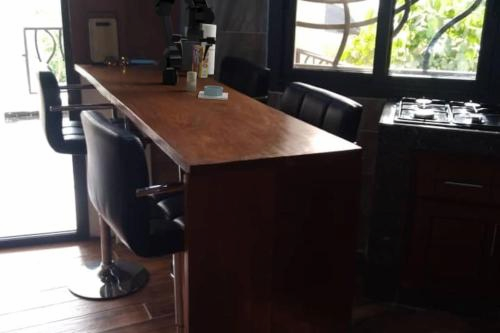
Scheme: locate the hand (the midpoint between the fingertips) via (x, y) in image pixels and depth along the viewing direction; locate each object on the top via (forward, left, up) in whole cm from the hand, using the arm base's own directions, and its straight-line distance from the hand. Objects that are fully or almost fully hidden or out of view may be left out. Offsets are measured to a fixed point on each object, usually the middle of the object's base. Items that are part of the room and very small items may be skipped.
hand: (193, 60), depth 237 cm
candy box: (+1, +42, -13) cm, 44 cm away
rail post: (0, 0, -13) cm, 13 cm away
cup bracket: (+10, -10, -13) cm, 19 cm away
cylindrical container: (+4, +56, -13) cm, 57 cm away
